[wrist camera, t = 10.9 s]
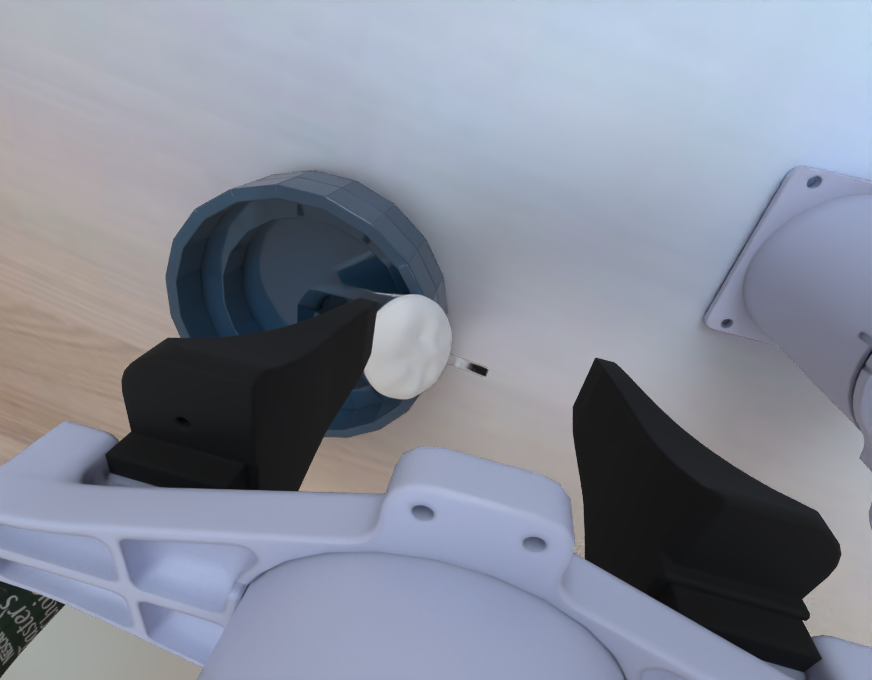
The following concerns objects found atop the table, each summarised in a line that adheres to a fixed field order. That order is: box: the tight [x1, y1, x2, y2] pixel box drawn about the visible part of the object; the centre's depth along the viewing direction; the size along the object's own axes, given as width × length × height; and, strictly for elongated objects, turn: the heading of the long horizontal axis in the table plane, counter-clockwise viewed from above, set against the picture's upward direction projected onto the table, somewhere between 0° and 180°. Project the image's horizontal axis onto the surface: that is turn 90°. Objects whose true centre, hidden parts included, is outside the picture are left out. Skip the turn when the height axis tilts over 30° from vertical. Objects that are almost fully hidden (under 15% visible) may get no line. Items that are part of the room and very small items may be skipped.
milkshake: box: [297, 283, 489, 399], centre depth 21 cm, size 4×5×10 cm
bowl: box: [166, 171, 447, 438], centre depth 24 cm, size 14×14×4 cm
